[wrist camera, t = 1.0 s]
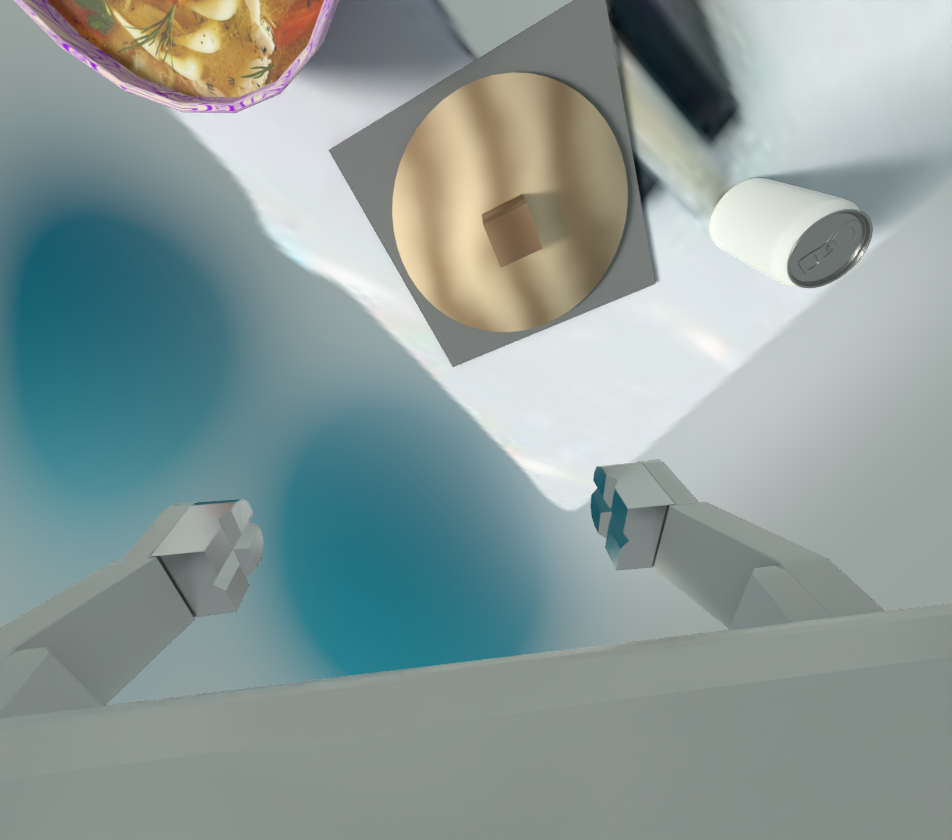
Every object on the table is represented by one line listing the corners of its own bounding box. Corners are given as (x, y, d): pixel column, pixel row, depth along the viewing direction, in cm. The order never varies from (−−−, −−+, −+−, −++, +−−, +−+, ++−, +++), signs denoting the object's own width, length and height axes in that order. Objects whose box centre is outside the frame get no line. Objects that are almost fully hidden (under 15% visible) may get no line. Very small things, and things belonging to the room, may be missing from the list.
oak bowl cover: (592, 8, 30) (610, -5, 26) (644, 279, 42) (661, 296, 38) (345, 156, 35) (330, 163, 31) (456, 357, 48) (456, 379, 44)
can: (789, 210, 39) (892, 245, 30) (727, 262, 42) (802, 309, 33) (758, 159, 36) (861, 180, 27) (694, 219, 39) (766, 256, 30)
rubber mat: (600, -16, 29) (602, -18, 29) (653, 281, 43) (655, 283, 43) (330, 149, 35) (328, 150, 35) (453, 364, 49) (453, 367, 48)
